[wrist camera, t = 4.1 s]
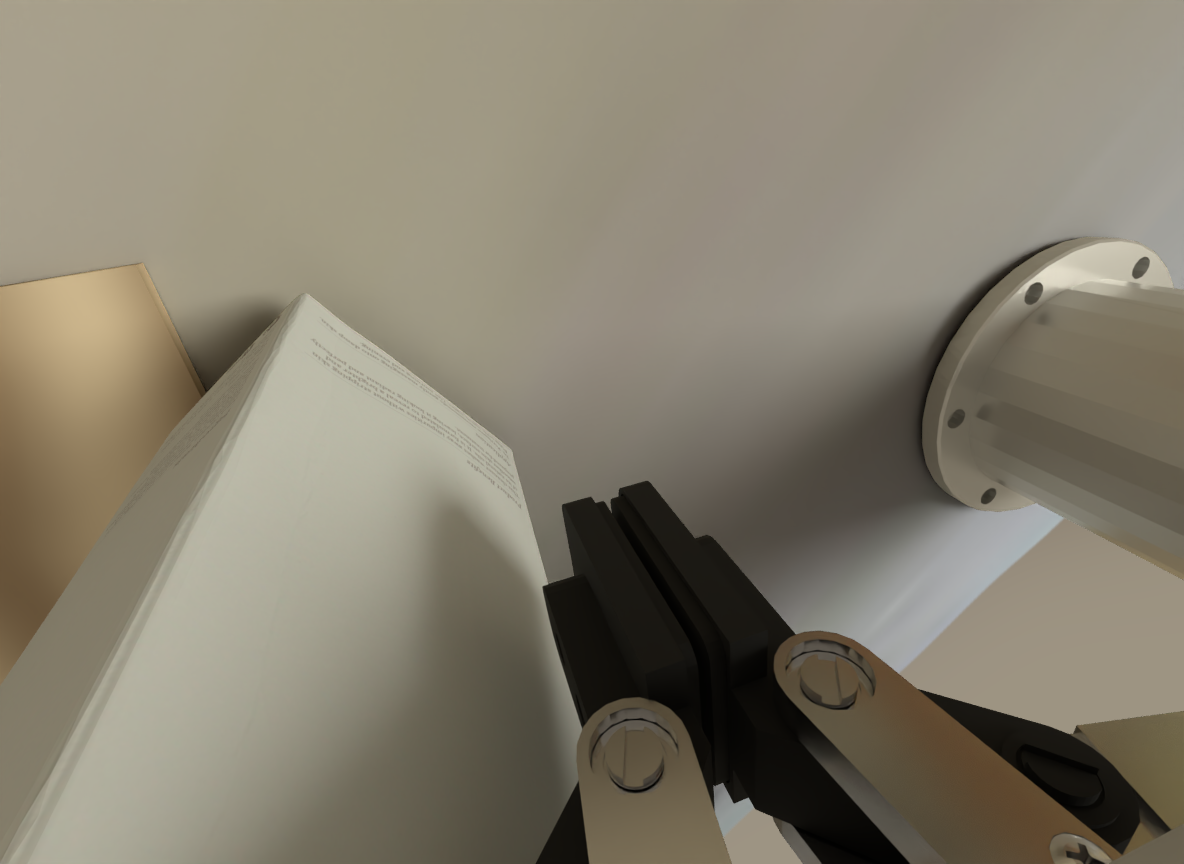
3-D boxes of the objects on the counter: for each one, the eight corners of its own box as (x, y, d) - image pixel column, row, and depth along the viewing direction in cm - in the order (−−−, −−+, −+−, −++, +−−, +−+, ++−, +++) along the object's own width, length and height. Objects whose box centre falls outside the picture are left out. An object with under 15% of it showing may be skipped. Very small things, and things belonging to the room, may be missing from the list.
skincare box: (176, 423, 16) (-766, 1625, 3) (313, 274, 15) (-358, 1283, 2) (413, 556, 20) (374, 1288, 8) (532, 450, 19) (706, 1112, 7)
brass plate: (143, 262, 14) (136, 265, 14) (309, 605, 20) (307, 613, 19) (-462, 362, 12) (-488, 367, 12) (-89, 719, 17) (-99, 730, 17)
